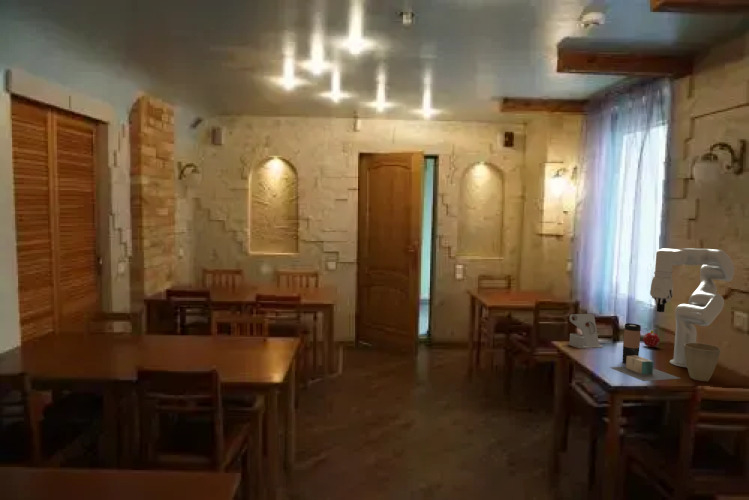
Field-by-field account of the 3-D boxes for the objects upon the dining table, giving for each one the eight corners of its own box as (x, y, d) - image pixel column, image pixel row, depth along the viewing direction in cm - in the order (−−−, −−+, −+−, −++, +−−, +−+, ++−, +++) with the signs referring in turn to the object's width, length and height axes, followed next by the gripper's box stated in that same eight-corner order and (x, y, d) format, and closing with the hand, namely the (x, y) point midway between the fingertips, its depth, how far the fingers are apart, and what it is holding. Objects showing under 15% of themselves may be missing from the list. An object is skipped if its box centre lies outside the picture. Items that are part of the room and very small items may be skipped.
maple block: (652, 373, 269) (635, 367, 279) (653, 361, 269) (636, 355, 279) (642, 374, 267) (625, 367, 278) (643, 361, 267) (626, 355, 277)
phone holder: (578, 348, 317) (580, 317, 316) (566, 344, 326) (568, 313, 325) (603, 347, 322) (605, 316, 321) (591, 343, 332) (593, 313, 331)
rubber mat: (645, 366, 284) (645, 365, 284) (680, 379, 263) (681, 378, 263) (609, 368, 277) (609, 367, 277) (643, 382, 256) (643, 381, 256)
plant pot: (674, 375, 270) (676, 342, 268) (700, 374, 273) (702, 342, 272) (698, 385, 255) (701, 350, 254) (725, 384, 258) (728, 350, 257)
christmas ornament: (639, 345, 330) (640, 329, 329) (649, 344, 333) (651, 328, 333) (652, 349, 322) (653, 332, 321) (662, 348, 326) (663, 331, 325)
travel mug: (638, 362, 291) (641, 324, 290) (638, 365, 285) (641, 327, 283) (622, 360, 295) (624, 322, 293) (621, 363, 288) (624, 325, 286)
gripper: (645, 273, 282) (642, 309, 283) (669, 276, 268) (666, 314, 269) (657, 273, 284) (654, 308, 286) (681, 276, 270) (678, 314, 272)
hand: (660, 311), depth 278 cm, fingers closed
